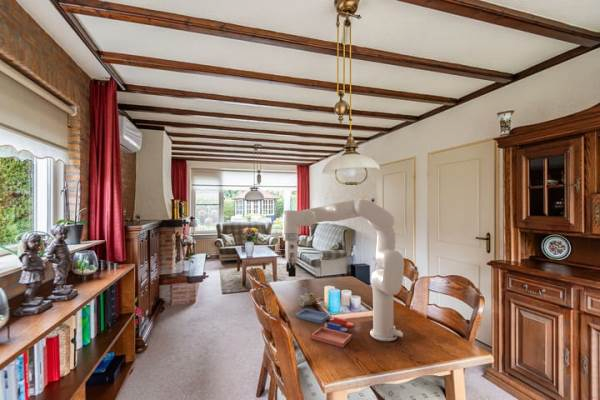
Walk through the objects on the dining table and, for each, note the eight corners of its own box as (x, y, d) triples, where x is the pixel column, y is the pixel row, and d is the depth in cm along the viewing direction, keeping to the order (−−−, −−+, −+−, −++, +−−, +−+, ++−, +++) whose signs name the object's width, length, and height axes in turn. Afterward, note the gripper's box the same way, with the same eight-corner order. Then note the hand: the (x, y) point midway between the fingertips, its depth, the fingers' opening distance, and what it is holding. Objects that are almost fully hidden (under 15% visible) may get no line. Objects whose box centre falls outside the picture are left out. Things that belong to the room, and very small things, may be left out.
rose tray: (351, 338, 133) (351, 334, 133) (343, 347, 124) (343, 343, 124) (321, 330, 141) (321, 326, 142) (311, 338, 133) (311, 334, 133)
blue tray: (330, 317, 159) (330, 313, 159) (321, 323, 150) (321, 320, 150) (305, 311, 167) (305, 308, 167) (296, 317, 159) (296, 314, 159)
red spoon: (332, 323, 150) (332, 318, 150) (335, 321, 154) (335, 316, 154) (351, 328, 144) (351, 323, 144) (354, 325, 148) (354, 320, 148)
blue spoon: (325, 329, 143) (325, 323, 143) (329, 326, 147) (329, 321, 147) (345, 334, 138) (345, 328, 138) (348, 331, 141) (348, 325, 141)
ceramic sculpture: (295, 290, 181) (315, 288, 187) (294, 304, 180) (315, 302, 186) (302, 295, 171) (323, 293, 177) (301, 309, 171) (323, 307, 177)
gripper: (301, 238, 123) (301, 278, 122) (296, 235, 140) (296, 269, 139) (284, 239, 122) (284, 278, 121) (281, 235, 139) (281, 270, 138)
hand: (290, 273), depth 130 cm, fingers open, 9 cm apart
